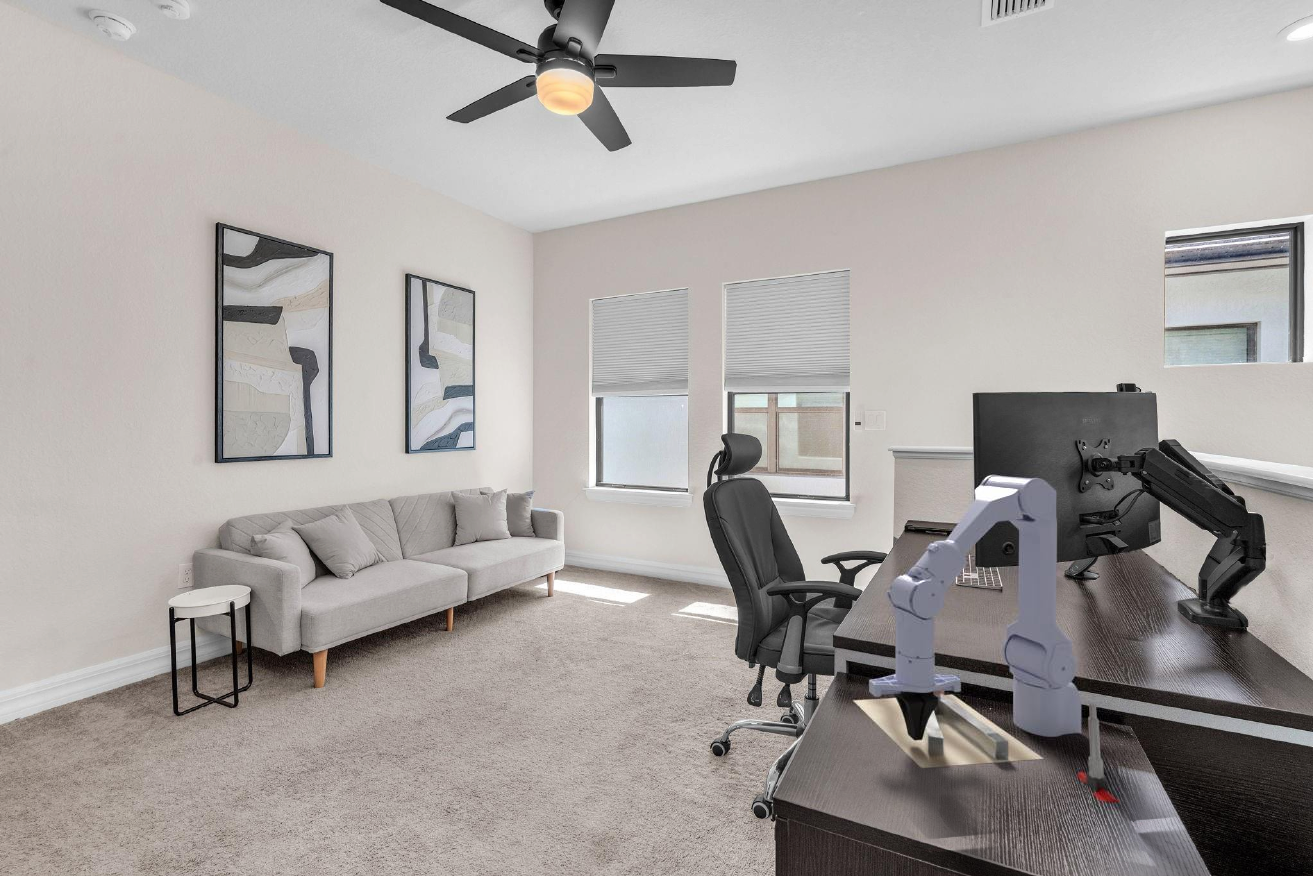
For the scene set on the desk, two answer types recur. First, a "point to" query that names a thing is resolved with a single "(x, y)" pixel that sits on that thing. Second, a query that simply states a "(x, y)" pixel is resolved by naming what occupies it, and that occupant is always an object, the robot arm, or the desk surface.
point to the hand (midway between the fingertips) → (915, 737)
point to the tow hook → (1095, 761)
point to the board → (955, 742)
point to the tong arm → (934, 736)
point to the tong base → (972, 727)
